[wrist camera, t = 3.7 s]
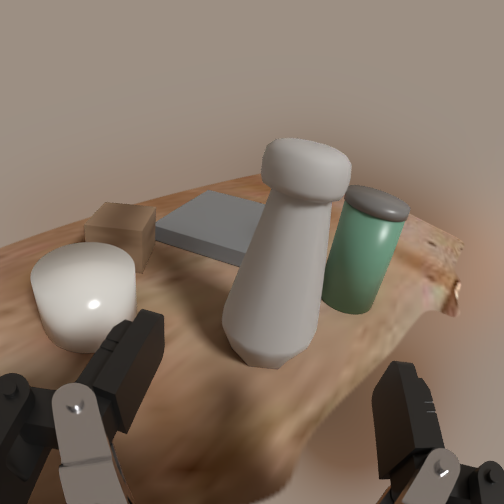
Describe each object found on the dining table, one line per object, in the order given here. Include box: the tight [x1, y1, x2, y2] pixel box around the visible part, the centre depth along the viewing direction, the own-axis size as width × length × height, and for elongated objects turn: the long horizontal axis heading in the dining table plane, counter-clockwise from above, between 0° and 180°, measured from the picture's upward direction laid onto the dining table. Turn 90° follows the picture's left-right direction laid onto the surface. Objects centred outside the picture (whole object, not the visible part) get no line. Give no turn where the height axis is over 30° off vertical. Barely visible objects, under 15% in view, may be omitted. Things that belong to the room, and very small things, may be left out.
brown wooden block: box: [84, 202, 156, 274], centre depth 26 cm, size 5×5×4 cm
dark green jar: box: [321, 185, 410, 314], centre depth 25 cm, size 5×5×9 cm
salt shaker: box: [222, 138, 351, 369], centre depth 17 cm, size 6×6×13 cm
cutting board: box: [155, 190, 265, 267], centre depth 34 cm, size 15×13×2 cm
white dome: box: [31, 242, 138, 353], centre depth 19 cm, size 7×7×4 cm
